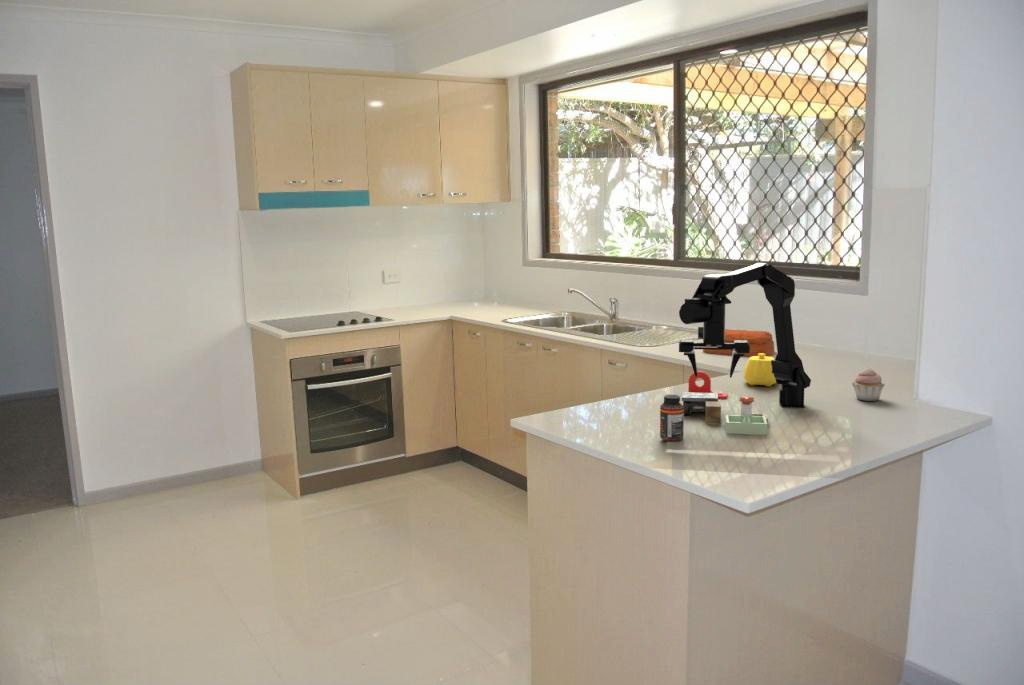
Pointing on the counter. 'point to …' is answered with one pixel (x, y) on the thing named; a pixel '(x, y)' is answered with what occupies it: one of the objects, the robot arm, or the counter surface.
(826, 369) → the counter surface
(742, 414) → the pin
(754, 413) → the pin socket
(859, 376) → the cupcake
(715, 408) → the block
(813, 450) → the counter surface
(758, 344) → the bread
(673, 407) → the supplement bottle
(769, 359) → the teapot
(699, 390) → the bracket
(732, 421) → the tray
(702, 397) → the trolley
